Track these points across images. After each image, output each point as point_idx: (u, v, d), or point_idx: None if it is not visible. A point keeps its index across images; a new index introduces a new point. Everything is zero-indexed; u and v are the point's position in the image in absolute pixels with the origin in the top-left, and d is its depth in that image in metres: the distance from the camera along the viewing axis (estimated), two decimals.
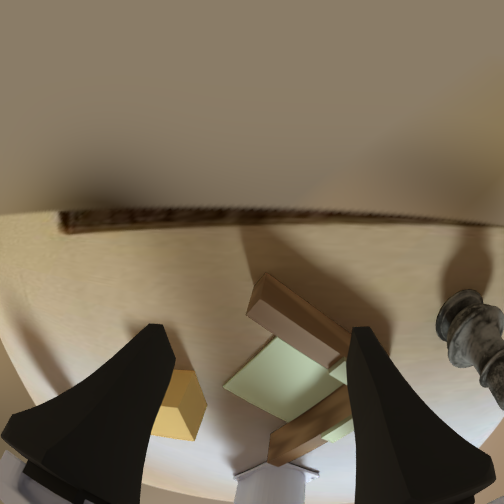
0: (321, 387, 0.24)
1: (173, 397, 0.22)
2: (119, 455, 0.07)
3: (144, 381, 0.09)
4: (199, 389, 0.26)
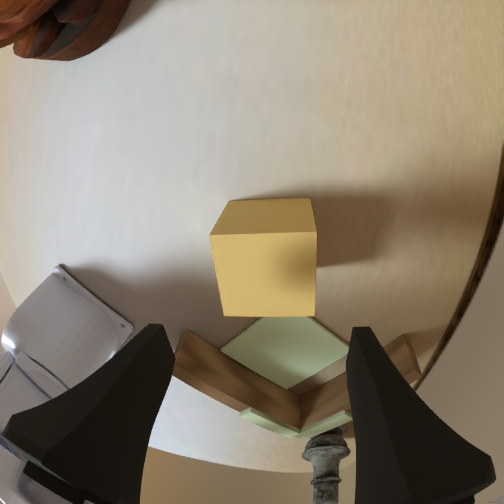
0: (281, 376, 0.25)
1: None
2: (119, 455, 0.07)
3: (144, 381, 0.09)
4: None
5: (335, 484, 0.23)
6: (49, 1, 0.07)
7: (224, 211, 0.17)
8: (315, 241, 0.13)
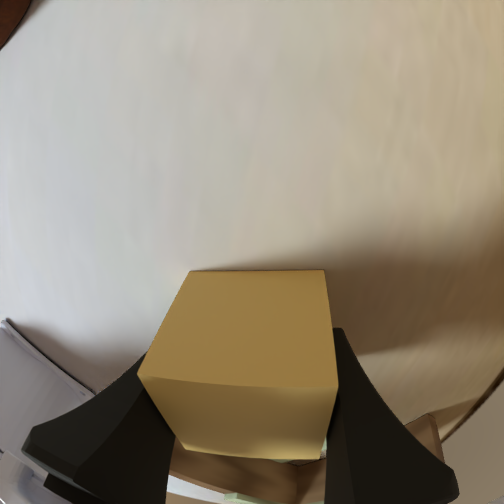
0: None
1: None
2: (147, 463, 0.07)
3: None
4: None
5: None
6: None
7: (175, 302, 0.09)
8: (333, 396, 0.06)
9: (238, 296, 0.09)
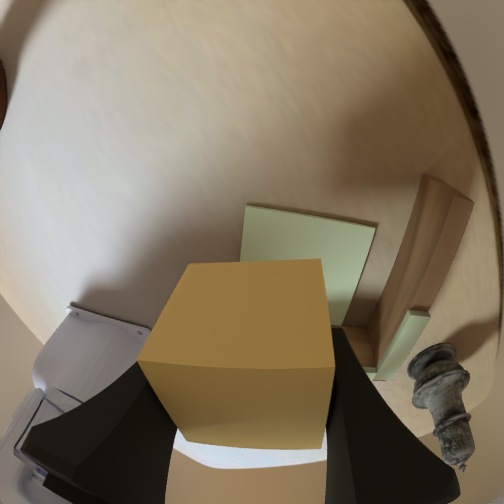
0: None
1: None
2: (146, 463, 0.07)
3: None
4: None
5: (463, 424, 0.15)
6: None
7: (175, 292, 0.10)
8: (331, 378, 0.06)
9: (236, 285, 0.10)
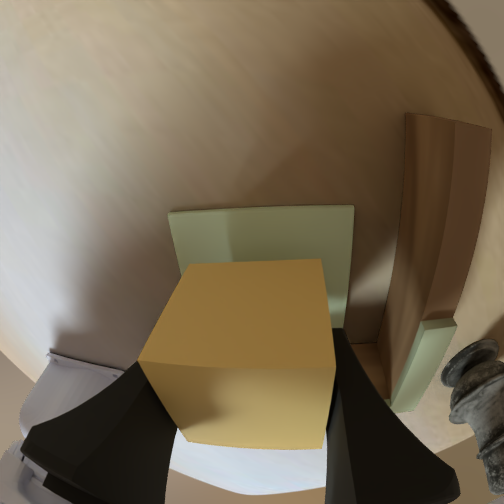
0: None
1: None
2: (146, 463, 0.07)
3: None
4: None
5: None
6: None
7: (175, 292, 0.10)
8: (332, 378, 0.06)
9: (237, 285, 0.10)
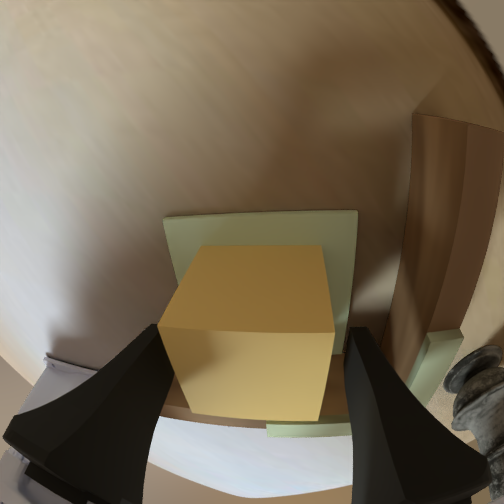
0: None
1: None
2: (122, 456, 0.07)
3: (146, 382, 0.09)
4: None
5: None
6: None
7: (190, 269, 0.11)
8: (331, 344, 0.08)
9: (246, 264, 0.11)
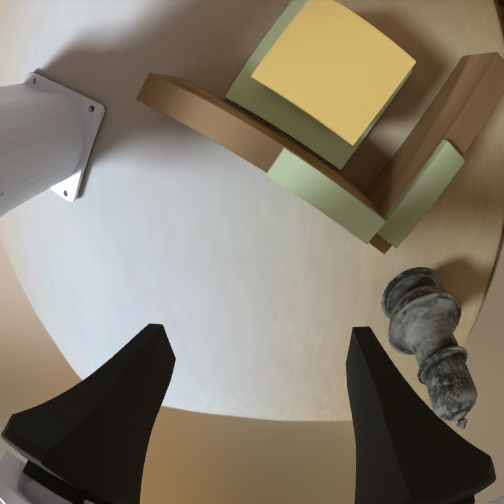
0: (326, 134, 0.15)
1: None
2: (119, 455, 0.07)
3: (144, 381, 0.09)
4: None
5: (463, 361, 0.13)
6: None
7: None
8: (409, 68, 0.09)
9: None
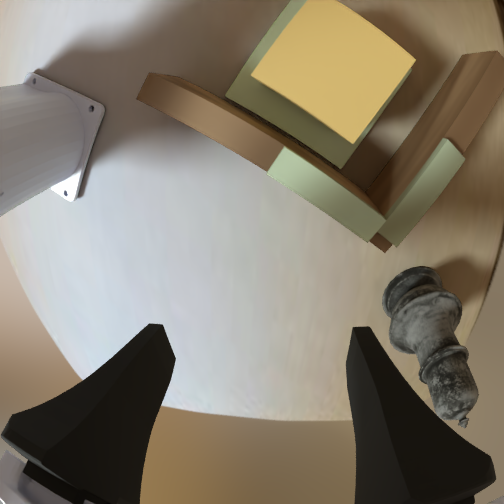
0: (326, 133, 0.15)
1: None
2: (119, 455, 0.07)
3: (144, 381, 0.09)
4: None
5: (464, 360, 0.13)
6: None
7: None
8: (409, 66, 0.09)
9: None
